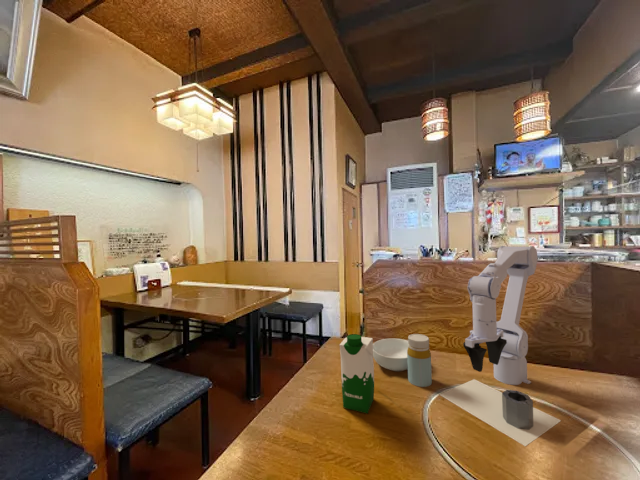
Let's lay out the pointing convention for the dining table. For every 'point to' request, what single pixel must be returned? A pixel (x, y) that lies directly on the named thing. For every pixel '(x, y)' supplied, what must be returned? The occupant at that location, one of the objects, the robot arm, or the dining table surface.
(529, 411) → the gray faceted cup
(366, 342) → the milk carton
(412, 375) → the bottle
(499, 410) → the board
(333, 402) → the dining table surface
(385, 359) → the cereal bowl
